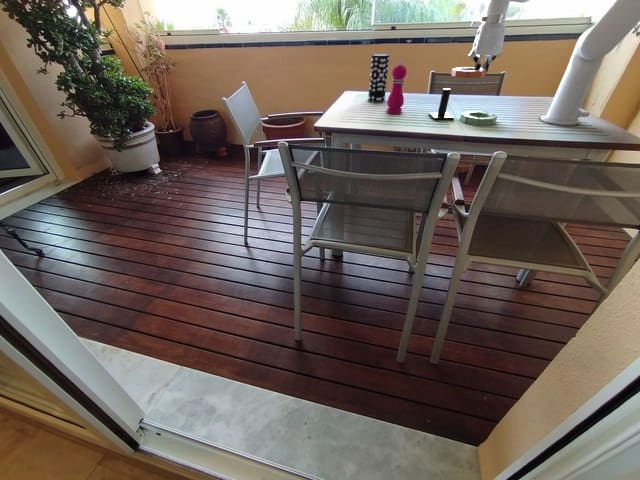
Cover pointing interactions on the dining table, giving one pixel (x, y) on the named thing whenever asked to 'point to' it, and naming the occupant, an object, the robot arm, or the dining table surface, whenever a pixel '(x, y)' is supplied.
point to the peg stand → (443, 107)
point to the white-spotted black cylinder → (378, 77)
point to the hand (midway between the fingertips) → (479, 74)
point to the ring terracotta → (468, 72)
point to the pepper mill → (396, 89)
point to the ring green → (478, 118)
